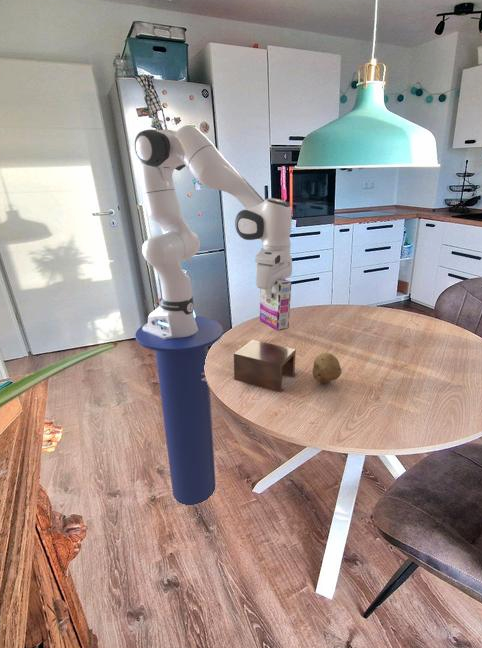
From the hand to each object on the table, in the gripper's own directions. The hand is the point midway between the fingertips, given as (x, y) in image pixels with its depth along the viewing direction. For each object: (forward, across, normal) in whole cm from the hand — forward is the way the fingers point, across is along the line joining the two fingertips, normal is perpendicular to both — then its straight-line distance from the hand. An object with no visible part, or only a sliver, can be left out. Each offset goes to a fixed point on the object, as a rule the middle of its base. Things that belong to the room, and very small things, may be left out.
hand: (274, 295), depth 128 cm
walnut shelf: (+24, +13, +4) cm, 27 cm away
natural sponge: (+24, +7, +22) cm, 33 cm away
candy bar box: (+11, 0, 0) cm, 11 cm away
